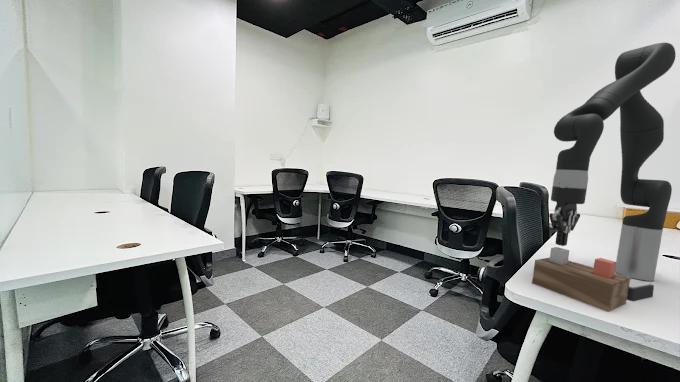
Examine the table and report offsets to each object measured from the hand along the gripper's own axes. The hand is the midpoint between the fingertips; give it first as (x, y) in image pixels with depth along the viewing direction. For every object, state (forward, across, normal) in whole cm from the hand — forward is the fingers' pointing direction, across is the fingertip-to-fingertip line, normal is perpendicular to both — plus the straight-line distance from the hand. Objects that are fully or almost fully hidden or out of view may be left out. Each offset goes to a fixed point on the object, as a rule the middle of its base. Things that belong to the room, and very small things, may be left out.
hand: (560, 245), depth 78 cm
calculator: (+13, -16, +7) cm, 22 cm away
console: (+12, 0, +5) cm, 13 cm away
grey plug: (+8, 0, 0) cm, 8 cm away
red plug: (+8, 0, +10) cm, 13 cm away
